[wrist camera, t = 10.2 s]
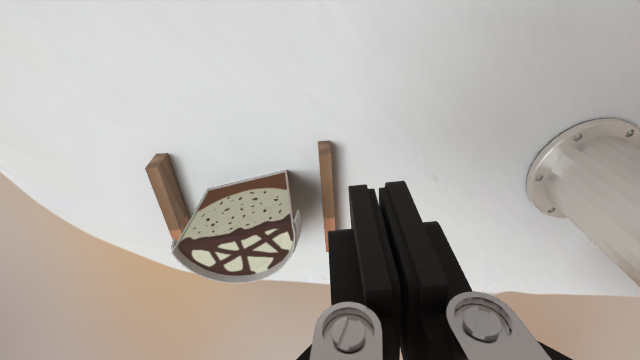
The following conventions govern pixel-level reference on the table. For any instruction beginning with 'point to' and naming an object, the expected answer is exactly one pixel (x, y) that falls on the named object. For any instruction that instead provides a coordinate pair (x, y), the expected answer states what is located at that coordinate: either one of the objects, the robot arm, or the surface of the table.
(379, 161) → the table surface
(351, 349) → the robot arm
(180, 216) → the lane walls
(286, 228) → the food container
